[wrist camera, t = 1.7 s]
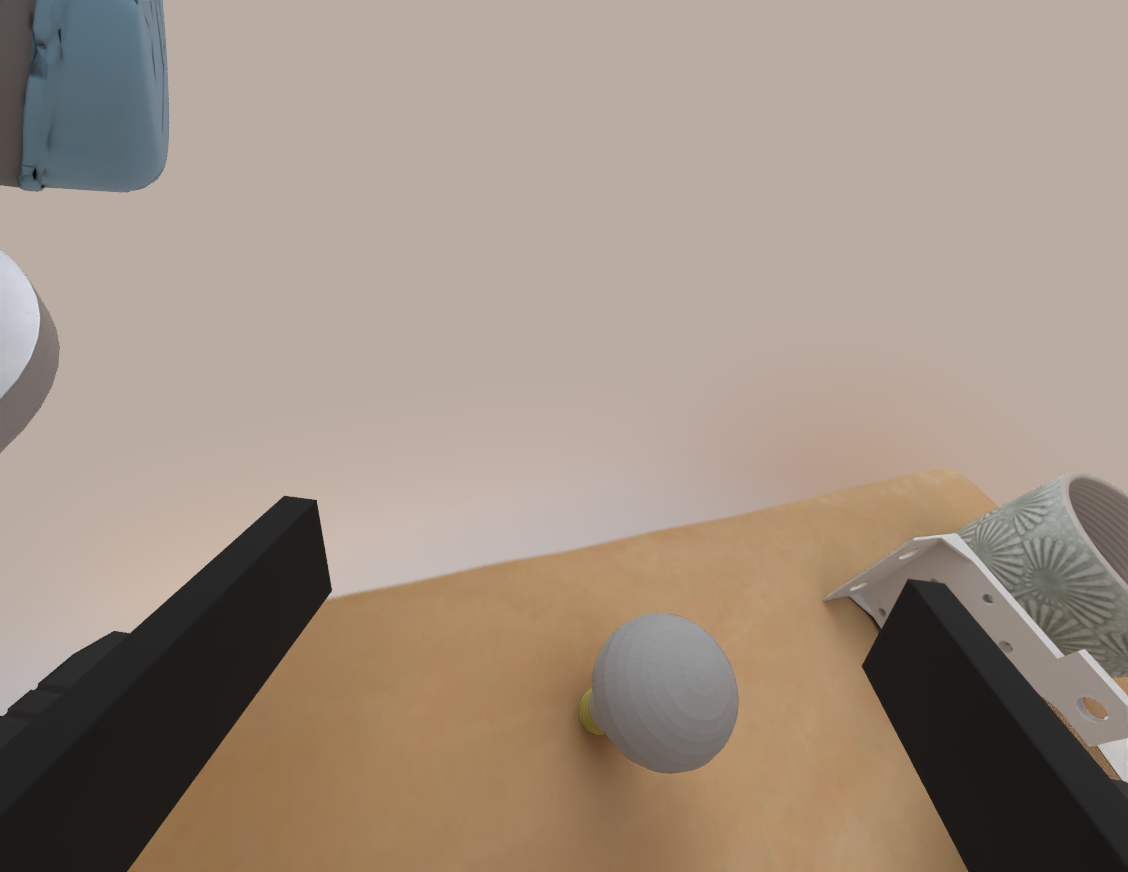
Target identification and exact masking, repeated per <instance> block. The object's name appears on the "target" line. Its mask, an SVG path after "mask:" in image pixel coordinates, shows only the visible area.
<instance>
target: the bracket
mask: <svg viewBox="0 0 1128 872" xmlns="http://www.w3.org/2000/svg"><path fill="white" fill-rule="evenodd" d="M916 548H917V549H916ZM913 549H916V550H914V551H913V552H911V553H909V554H906V555H904V556H901V555H903V554H905V553H906V552H908V551H911V550H913ZM908 579H915V580H922V581H930V582H937V581H938V582H939V583H945V584H946V585H947V587H948V588H949V589H950V590H951V591H952V592H953V594H954V595H955V596H956V597H957V598H958V600H959V601H960V602H961V603H962V604H963V605H964V607H965V608H966V609H967V610H968V611H969V613H970V614H971V615H972V616H973V617H974V618H975V620H976V621H977V622H978V623H979V624H980V626H981V627H982V628H983V629H984V630H985V631H986V633H987V634H988V635H989V636H990V637H991V638H992V640H993V641H994V642H995V643H996V644H997V646H998V647H999V648H1000V649H1001V650H1002V651H1003V653H1004V654H1005V655H1006V656H1007V657H1008V659H1009V660H1010V661H1011V662H1012V663H1013V664H1014V666H1015V667H1016V668H1017V669H1018V670H1019V672H1020V673H1021V674H1022V675H1023V676H1024V677H1025V679H1026V680H1027V681H1028V682H1029V683H1030V685H1031V686H1032V687H1033V688H1034V689H1035V690H1036V692H1037V693H1038V694H1039V695H1040V696H1041V697H1043V698H1044V699H1046V700H1047V701H1048V702H1050V703H1051V704H1052V705H1053V706H1054V707H1055V708H1057V709H1058V710H1059V711H1060V713H1061V714H1062V715H1063V716H1064V717H1065V718H1066V719H1067V721H1068V722H1069V723H1070V724H1071V725H1072V727H1073V728H1074V729H1075V730H1076V732H1077V733H1078V734H1079V735H1080V736H1081V738H1082V739H1083V740H1084V741H1085V743H1086V744H1087V745H1088V746H1089V747H1091V746H1096V745H1100V744H1104V743H1109V742H1113V741H1117V740H1122V739H1126V738H1128V696H1127V694H1126V693H1125V692H1124V691H1123V690H1122V689H1121V688H1120V687H1119V686H1118V685H1117V684H1116V682H1115V681H1114V680H1113V679H1112V678H1111V677H1110V676H1109V675H1108V674H1107V673H1106V671H1105V670H1104V669H1103V668H1102V667H1101V666H1100V665H1099V664H1098V663H1097V662H1096V660H1095V659H1094V658H1093V657H1092V656H1091V655H1090V654H1089V653H1088V652H1087V651H1086V650H1085V649H1083V650H1080V651H1077V652H1074V653H1072V654H1069V655H1066V656H1064V655H1063V654H1062V652H1061V651H1060V650H1059V649H1058V648H1057V647H1056V646H1055V645H1054V643H1053V642H1052V641H1051V640H1050V639H1049V638H1048V637H1047V635H1046V634H1045V633H1044V632H1043V631H1042V630H1041V629H1040V627H1039V626H1038V625H1037V624H1036V623H1035V622H1034V621H1033V619H1032V618H1031V617H1030V616H1029V615H1028V614H1027V613H1026V612H1025V610H1024V609H1023V608H1022V607H1021V606H1020V605H1019V604H1018V602H1017V601H1016V600H1015V599H1014V598H1013V597H1012V596H1011V594H1010V593H1009V592H1008V591H1007V590H1006V589H1005V588H1004V586H1003V585H1002V584H1001V583H1000V582H999V581H998V580H997V579H996V577H995V576H994V575H993V574H992V573H991V572H990V571H989V569H988V568H987V567H986V566H985V565H984V564H983V563H982V561H981V560H980V559H979V558H978V557H977V556H976V555H975V553H974V552H973V551H972V550H971V549H970V548H969V547H968V546H967V544H966V543H965V542H964V541H963V540H962V539H961V538H960V536H959V535H958V534H957V533H953V534H944V535H935V536H926V537H917V538H912V539H910V540H909V541H907V542H906V543H904V544H903V545H901V546H900V547H898V548H897V549H895V550H894V551H892V552H891V553H889V554H888V555H886V556H885V557H883V558H882V559H880V560H879V561H877V562H876V563H874V564H873V565H871V566H870V567H868V568H867V569H865V570H864V571H862V572H861V573H859V574H858V575H856V576H855V577H853V578H852V579H850V580H849V581H848V582H846V583H845V584H843V585H842V586H840V587H839V588H837V589H836V590H834V591H833V592H831V593H830V594H828V595H827V596H825V597H824V598H822V599H823V601H826V600H831V599H837V598H843V597H850V598H851V599H853V600H854V601H855V602H856V603H857V604H858V605H860V606H861V607H862V608H863V609H864V610H866V611H867V612H868V613H869V614H870V615H871V616H873V617H874V619H875V620H876V622H877V623H878V625H879V626H880V628H881V629H882V627H883V625H884V623H885V621H886V619H887V617H888V616H889V614H890V612H891V610H892V608H893V606H894V604H895V602H896V600H897V599H898V597H899V595H900V593H901V591H902V589H903V587H904V585H905V583H906V581H907V580H908ZM936 580H937V581H936ZM863 582H865V583H863ZM860 583H863V584H861V585H859V586H857V587H854V586H856V585H858V584H860ZM852 587H854V588H852ZM990 595H991V596H992V597H993V599H994V601H992V600H991V599H990ZM1006 641H1007V642H1008V643H1010V644H1011V646H1012V648H1013V651H1012V650H1010V649H1009V648H1008V647H1007V646H1006ZM1084 697H1088V698H1092V699H1094V700H1096V701H1098V702H1099V703H1101V704H1102V705H1103V706H1104V707H1105V709H1106V711H1107V713H1108V719H1107V720H1104V719H1100V718H1098V717H1095V716H1094V715H1092V714H1091V713H1090V712H1089V711H1088V710H1087V709H1086V708H1085V706H1084V703H1083V700H1084Z"/></svg>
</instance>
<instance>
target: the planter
mask: <svg viewBox="0 0 1128 872" xmlns="http://www.w3.org/2000/svg"><path fill="white" fill-rule="evenodd" d="M954 533H957V534H958V535H959V536H960V538H961V539H962V540H963V541H964V542H965V543H966V544H967V546H968V547H969V548H970V549H971V550H972V551H973V552H974V553H975V555H976V556H977V557H978V558H979V559H980V560H981V561H982V563H983V564H984V565H985V566H986V567H987V568H988V569H989V571H990V572H991V573H992V574H993V575H994V576H995V577H996V579H997V580H998V581H999V582H1000V583H1001V584H1002V585H1003V586H1004V588H1005V589H1006V590H1007V591H1008V592H1009V593H1010V594H1011V596H1012V597H1013V598H1014V599H1015V600H1016V601H1017V602H1018V604H1019V605H1020V606H1021V607H1022V608H1023V609H1024V610H1025V612H1026V613H1027V614H1028V615H1029V616H1030V617H1031V618H1032V619H1033V621H1034V622H1035V623H1036V624H1037V625H1038V626H1039V627H1040V629H1041V630H1042V631H1043V632H1044V633H1045V634H1046V635H1047V637H1048V638H1049V639H1050V640H1051V641H1052V642H1053V643H1054V645H1055V646H1056V647H1057V648H1058V649H1059V650H1060V651H1061V652H1062V654H1063V655H1064V656H1066V655H1069V654H1072V653H1074V652H1077V651H1080V650H1083V649H1085V650H1086V651H1087V652H1088V653H1089V654H1090V655H1091V656H1092V657H1093V658H1094V659H1095V660H1096V662H1097V663H1098V664H1099V665H1100V666H1101V667H1102V668H1103V669H1104V670H1105V671H1106V673H1107V674H1108V675H1109V676H1110V677H1111V678H1116V677H1126V676H1128V493H1126V492H1125V491H1123V490H1121V489H1120V488H1118V487H1116V486H1115V485H1113V484H1111V483H1109V482H1107V481H1105V480H1103V479H1101V478H1099V477H1096V476H1094V475H1091V474H1087V473H1083V472H1071V473H1067V474H1065V475H1063V476H1061V477H1060V478H1057V479H1055V480H1053V481H1051V482H1049V483H1047V484H1045V485H1043V486H1041V487H1039V488H1037V489H1035V490H1033V491H1030V492H1029V493H1026V494H1024V495H1022V496H1020V497H1018V498H1016V499H1014V500H1012V501H1010V502H1008V503H1006V504H1004V505H1002V506H1000V507H998V508H996V509H994V510H992V511H990V512H988V513H986V514H984V515H982V516H981V517H979V518H977V519H975V520H973V521H971V522H970V523H968V524H966V525H965V526H963V527H961V528H960V529H958V530H957V531H955V532H954ZM937 582H938V581H937ZM938 583H939V582H938ZM990 599H991V600H992V601H994V599H993V597H992V596H991V595H990ZM1006 646H1007V647H1008V648H1009V649H1010V650H1012V651H1013V648H1012V646H1011V644H1010V643H1008V642H1007V641H1006Z"/></svg>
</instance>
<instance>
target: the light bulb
mask: <svg viewBox="0 0 1128 872" xmlns="http://www.w3.org/2000/svg"><path fill="white" fill-rule="evenodd" d="M737 713H738V689H737V683H736V679H735V675H734V672H733V669H732V667H731V664H730V662H729V660H728V658H727V656H726V654H725V653H724V651H723V650H722V648H721V647H720V645H719V644H718V643H717V641H716V640H715V639H714V638H713V637H712V636H711V635H710V634H709V633H708V632H707V631H706V630H704V629H703V628H702V627H700V626H699V625H697V624H695V623H694V622H692V621H689V620H687V619H685V618H682V617H680V616H676V615H671V614H660V613H650V614H644V615H641V616H638V617H636V618H634V619H632V620H630V621H628V622H627V623H625V624H623V625H621V626H620V627H619V628H617V629H616V630H615V631H614V632H613V633H612V634H611V635H610V637H609V638H608V639H607V641H606V643H605V644H604V646H603V647H602V649H601V651H600V653H599V655H598V657H597V660H596V663H595V666H594V671H593V678H592V688H591V689H590V690H588V691H587V692H586V693H585V694H584V695H583V696H582V698H581V700H580V703H579V717H580V721H581V723H582V725H583V726H584V727H585V729H586V730H588V731H589V732H591V733H593V734H596V735H603V734H606V735H607V737H608V738H609V740H610V741H611V742H612V744H613V745H614V746H615V747H616V748H617V750H619V751H620V752H621V753H622V754H623V755H624V756H625V757H627V758H628V759H629V760H631V761H633V762H634V763H636V764H639V765H641V766H643V767H645V768H647V769H649V770H652V771H655V772H660V773H679V772H686V771H691V770H695V769H697V768H700V767H702V766H704V765H705V764H707V763H708V762H709V761H711V760H712V759H713V758H714V757H715V756H716V755H717V754H718V753H719V752H720V751H721V749H722V748H723V747H724V746H725V744H726V743H727V741H728V739H729V737H730V735H731V733H732V730H733V728H734V725H735V722H736V718H737Z"/></svg>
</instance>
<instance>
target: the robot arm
mask: <svg viewBox="0 0 1128 872" xmlns="http://www.w3.org/2000/svg"><path fill="white" fill-rule="evenodd" d="M167 74H168V73H167V55H166V39H165V25H164V13H163V1H162V0H0V185H4V186H12V187H20V188H21V189H23V190H27V191H41V190H43V189H44V188H45V187H48V188H49V187H50V188H64V189H79V190H94V191H109V192H129V191H133V190H139V189H142V188H145V187H146V186H147V185H149V184H151V183H152V182H154V181H155V180H157V179H158V178H159V176H160V175H161V173H162V172H163V170H164V167H165V164H166V160H167V153H168V139H169V138H168V137H169V97H168V75H167ZM331 591H332V588H331V582H330V576H329V571H328V564H327V558H326V553H325V547H324V541H323V536H322V529H321V524H320V518H319V512H318V506H317V500H312V499H304V498H297V497H289V496H284V497H282V498H281V499H280V500H279V501H278V502H277V503H276V504H275V505H273V506H272V507H271V508H270V509H269V510H268V511H267V512H266V513H264V514H263V515H262V516H261V517H260V518H259V519H258V520H257V521H255V522H254V524H252V525H251V526H250V527H249V528H248V529H247V530H245V531H244V532H243V533H242V534H241V535H240V536H239V537H238V538H236V539H235V540H234V541H233V542H232V543H231V544H230V545H229V546H227V548H225V549H224V550H223V551H222V552H221V553H220V554H219V555H217V556H216V557H215V558H214V559H213V560H212V561H211V562H210V563H208V564H207V565H206V566H205V567H204V568H203V569H202V570H201V571H200V572H198V573H197V574H196V575H195V576H194V577H193V578H192V579H191V580H190V581H188V582H187V583H186V584H185V585H184V586H183V587H182V588H180V589H179V590H178V591H177V592H176V593H175V594H174V595H172V596H171V597H170V598H169V599H168V600H167V601H166V602H165V603H164V604H162V605H161V606H160V607H159V608H158V609H157V610H156V611H155V612H153V613H152V614H151V615H150V616H149V617H148V618H147V619H146V620H144V621H143V622H142V623H141V624H140V625H139V626H138V627H137V628H136V629H134V630H133V631H132V632H131V633H123V632H118V631H113V632H111V633H110V634H108V635H106V636H104V637H103V638H101V639H99V640H97V641H96V642H94V643H92V644H90V645H89V646H87V647H85V648H83V649H82V650H80V651H78V652H76V653H75V654H73V655H72V656H71V657H69V658H68V659H67V660H66V661H65V662H63V663H62V664H61V665H60V666H59V667H57V668H56V669H55V670H54V671H53V672H51V673H50V674H49V675H48V676H47V677H46V678H44V679H43V680H42V681H41V682H39V683H38V687H37V688H36V689H35V690H30V691H29V692H28V693H26V694H25V695H24V696H23V697H22V698H20V699H19V700H18V701H17V702H16V703H14V704H13V705H12V706H11V707H10V708H8V712H7V713H6V714H5V715H4V716H0V872H127V871H128V870H129V868H130V867H131V865H132V864H133V863H134V861H135V860H136V859H137V857H138V856H139V854H140V853H141V852H142V850H143V849H144V848H145V846H146V845H147V843H148V842H149V841H150V839H151V838H152V837H153V835H154V834H155V833H156V831H157V830H158V828H159V827H160V826H161V824H162V823H163V822H164V820H165V819H166V817H167V816H168V815H169V813H170V812H171V811H172V809H173V808H174V806H175V805H176V804H177V802H178V801H179V800H180V798H181V797H182V796H183V794H184V793H185V791H186V790H187V789H188V787H189V786H190V785H191V783H192V782H193V780H194V779H195V778H196V776H197V775H198V774H199V772H200V771H201V769H202V768H203V767H204V765H205V764H206V763H207V761H208V760H209V759H210V757H211V756H212V754H213V753H214V752H215V750H216V749H217V748H218V746H219V745H220V743H221V742H222V741H223V739H224V738H225V737H226V735H227V734H228V732H229V731H230V730H231V728H232V727H233V726H234V724H235V723H236V721H237V720H238V719H239V717H240V716H241V715H242V713H243V712H244V711H245V709H246V708H247V706H248V705H249V704H250V702H251V701H252V700H253V698H254V697H255V695H256V694H257V693H258V691H259V690H260V689H261V687H262V686H263V684H264V683H265V682H266V680H267V679H268V678H269V676H270V675H271V674H272V672H273V671H274V669H275V668H276V667H277V665H278V664H279V663H280V661H281V660H282V658H283V657H284V656H285V654H286V653H287V652H288V650H289V649H290V647H291V646H292V645H293V643H294V642H295V641H296V639H297V638H298V637H299V635H300V634H301V632H302V631H303V630H304V628H305V627H306V626H307V624H308V623H309V621H310V620H311V619H312V617H313V616H314V615H315V613H316V612H317V610H318V609H319V608H320V606H321V605H322V604H323V602H324V601H325V599H326V598H327V597H328V595H329V594H330V593H331ZM862 668H863V669H864V671H865V673H866V675H867V677H868V679H869V681H870V683H871V685H872V687H873V689H874V691H875V693H876V694H877V696H878V698H879V700H880V702H881V704H882V706H883V708H884V710H885V712H886V714H887V716H888V718H889V719H890V721H891V723H892V725H893V727H894V729H895V731H896V733H897V735H898V737H899V739H900V741H901V743H902V744H903V746H904V748H905V750H906V752H907V754H908V756H909V758H910V760H911V762H912V764H913V766H914V768H915V769H916V771H917V773H918V775H919V777H920V779H921V781H922V783H923V785H924V787H925V789H926V791H927V793H928V794H929V796H930V798H931V800H932V802H933V804H934V806H935V808H936V810H937V812H938V814H939V816H940V818H941V820H942V821H943V823H944V825H945V827H946V829H947V831H948V833H949V835H950V837H951V839H952V841H953V843H954V845H955V846H956V848H957V850H958V852H959V854H960V856H961V858H962V860H963V862H964V864H965V866H966V868H967V870H968V871H969V872H1128V783H1127V782H1126V781H1119V780H1113V779H1110V778H1109V777H1108V775H1107V774H1106V773H1105V772H1104V771H1103V770H1102V768H1101V767H1100V766H1099V765H1098V764H1097V762H1096V761H1095V760H1094V759H1093V758H1092V757H1091V755H1090V754H1089V753H1088V752H1087V751H1086V750H1085V748H1084V747H1083V746H1082V745H1081V744H1080V742H1079V741H1078V740H1077V739H1076V738H1075V737H1074V735H1073V734H1072V733H1071V732H1070V731H1069V729H1068V728H1067V727H1066V726H1065V725H1064V724H1063V722H1062V721H1061V720H1060V719H1059V718H1058V716H1057V715H1056V714H1055V713H1054V712H1053V711H1052V709H1051V708H1050V707H1049V706H1048V705H1047V703H1046V702H1045V701H1044V700H1043V699H1042V698H1041V696H1040V695H1039V694H1038V693H1037V692H1036V690H1035V689H1034V688H1033V687H1032V686H1031V685H1030V683H1029V682H1028V681H1027V680H1026V679H1025V677H1024V676H1023V675H1022V674H1021V673H1020V672H1019V670H1018V669H1017V668H1016V667H1015V666H1014V664H1013V663H1012V662H1011V661H1010V660H1009V659H1008V657H1007V656H1006V655H1005V654H1004V653H1003V651H1002V650H1001V649H1000V648H999V647H998V646H997V644H996V643H995V642H994V641H993V640H992V638H991V637H990V636H989V635H988V634H987V633H986V631H985V630H984V629H983V628H982V627H981V626H980V624H979V623H978V622H977V621H976V620H975V618H974V617H973V616H972V615H971V614H970V613H969V611H968V610H967V609H966V608H965V607H964V605H963V604H962V603H961V602H960V601H959V600H958V598H957V597H956V596H955V595H954V594H953V592H952V591H951V590H950V589H949V588H948V587H947V585H946V584H945V583H937V582H930V581H922V580H915V579H908V580H907V581H906V583H905V585H904V587H903V589H902V591H901V593H900V595H899V597H898V599H897V600H896V602H895V604H894V606H893V608H892V610H891V612H890V614H889V616H888V617H887V619H886V621H885V623H884V625H883V627H882V629H881V631H880V633H879V634H878V636H877V638H876V640H875V642H874V644H873V646H872V648H871V650H870V651H869V653H868V655H867V657H866V659H865V661H864V663H863V665H862Z"/></svg>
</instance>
